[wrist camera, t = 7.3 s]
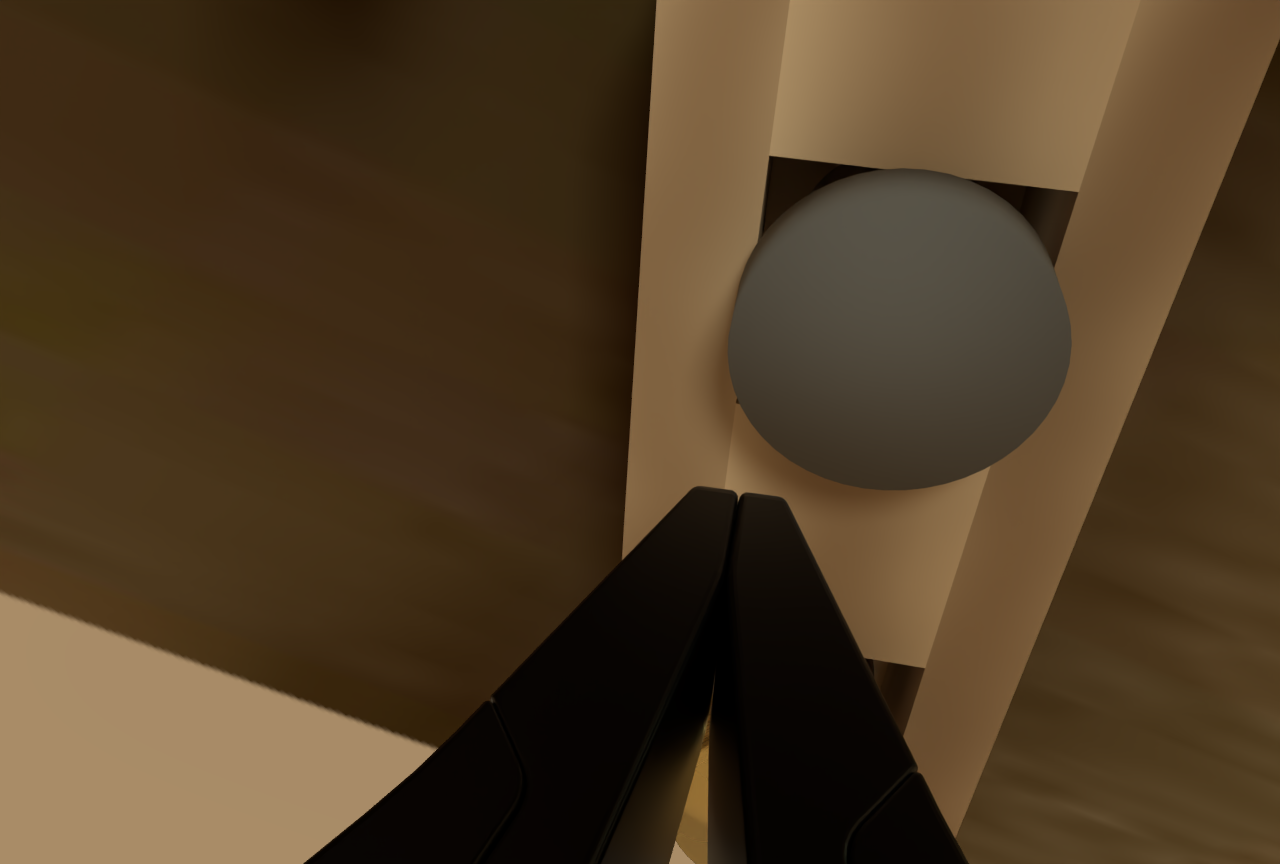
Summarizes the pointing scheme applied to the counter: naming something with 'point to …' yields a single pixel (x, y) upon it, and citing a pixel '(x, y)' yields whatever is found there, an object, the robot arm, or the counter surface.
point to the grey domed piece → (898, 330)
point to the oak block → (995, 159)
